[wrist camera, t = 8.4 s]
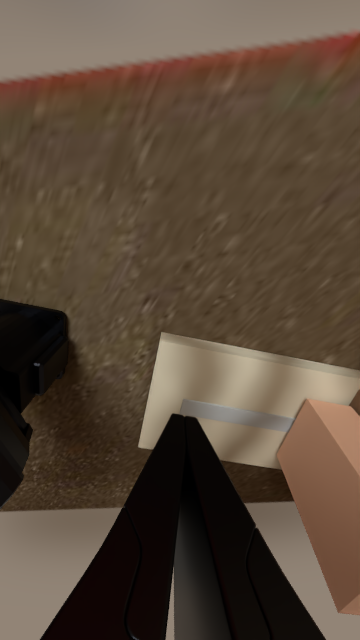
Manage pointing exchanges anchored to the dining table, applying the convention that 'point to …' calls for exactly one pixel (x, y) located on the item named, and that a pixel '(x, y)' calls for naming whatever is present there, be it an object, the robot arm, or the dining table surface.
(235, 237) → the dining table surface
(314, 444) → the tan rectangular block
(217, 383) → the track
